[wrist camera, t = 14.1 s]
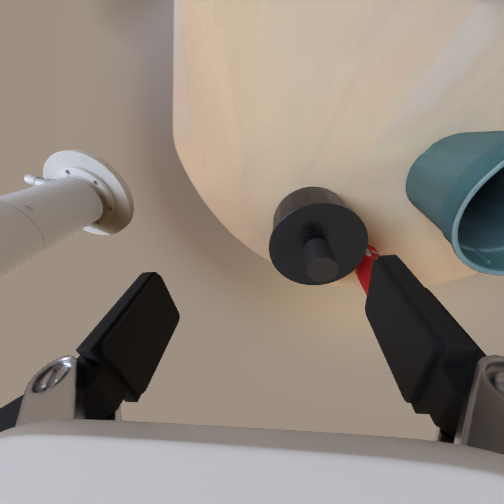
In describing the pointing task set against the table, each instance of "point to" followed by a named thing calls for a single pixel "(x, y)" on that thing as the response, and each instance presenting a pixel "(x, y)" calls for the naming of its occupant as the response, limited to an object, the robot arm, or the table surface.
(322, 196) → the pot
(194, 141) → the table surface
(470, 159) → the flower pot
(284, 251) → the lid
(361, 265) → the beverage can
